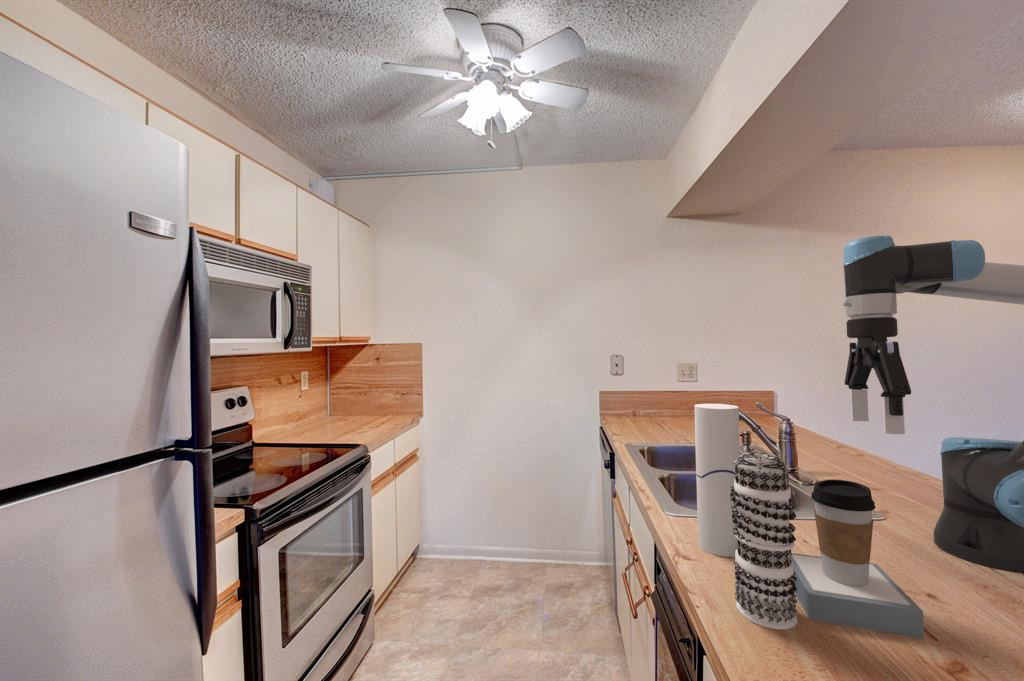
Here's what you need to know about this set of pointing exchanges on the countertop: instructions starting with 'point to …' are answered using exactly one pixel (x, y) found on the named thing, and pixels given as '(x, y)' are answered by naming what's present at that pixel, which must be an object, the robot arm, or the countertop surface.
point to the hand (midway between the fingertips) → (875, 426)
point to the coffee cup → (844, 529)
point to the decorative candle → (764, 541)
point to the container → (716, 475)
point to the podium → (856, 600)
